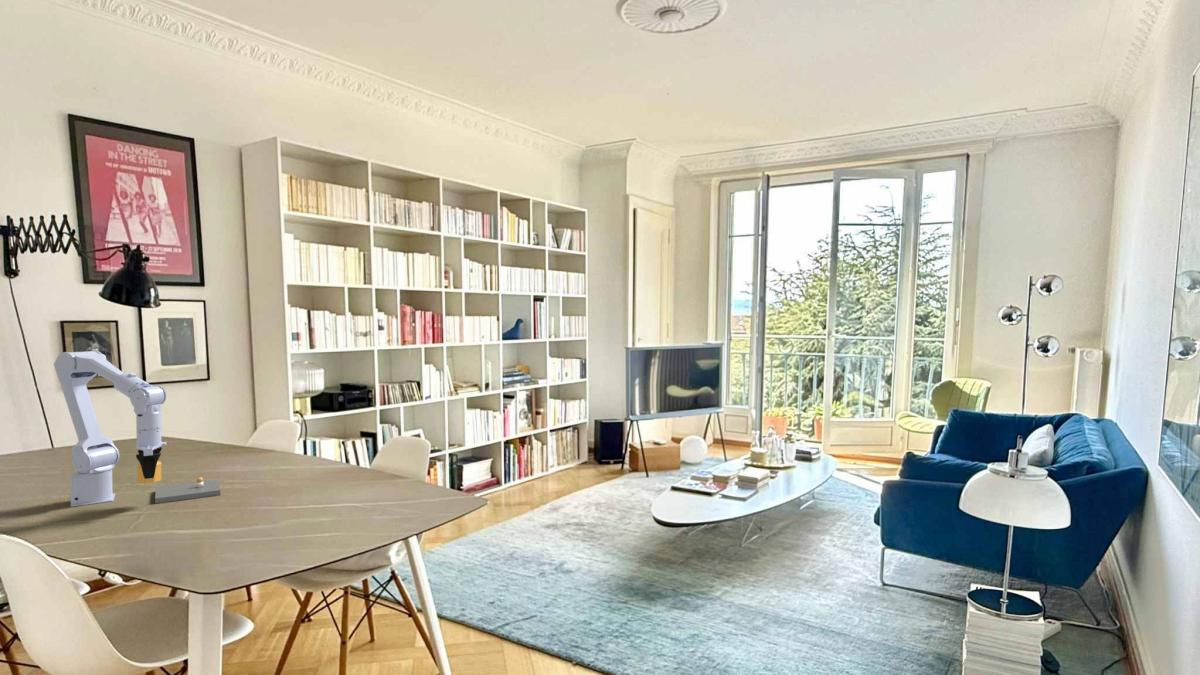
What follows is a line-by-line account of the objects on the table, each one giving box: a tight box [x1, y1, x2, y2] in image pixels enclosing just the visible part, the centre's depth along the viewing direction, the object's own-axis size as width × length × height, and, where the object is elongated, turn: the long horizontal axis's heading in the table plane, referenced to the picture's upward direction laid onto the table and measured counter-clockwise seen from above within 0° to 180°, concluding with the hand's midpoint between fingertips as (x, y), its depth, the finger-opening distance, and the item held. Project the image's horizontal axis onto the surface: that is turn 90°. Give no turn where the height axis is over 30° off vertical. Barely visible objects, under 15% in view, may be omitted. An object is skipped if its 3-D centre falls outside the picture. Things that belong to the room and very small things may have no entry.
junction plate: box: [154, 476, 221, 504], centre depth 186 cm, size 16×14×4 cm
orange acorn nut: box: [136, 460, 162, 484], centre depth 174 cm, size 5×5×5 cm
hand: (149, 475), depth 174 cm, fingers closed on orange acorn nut, 5 cm apart
